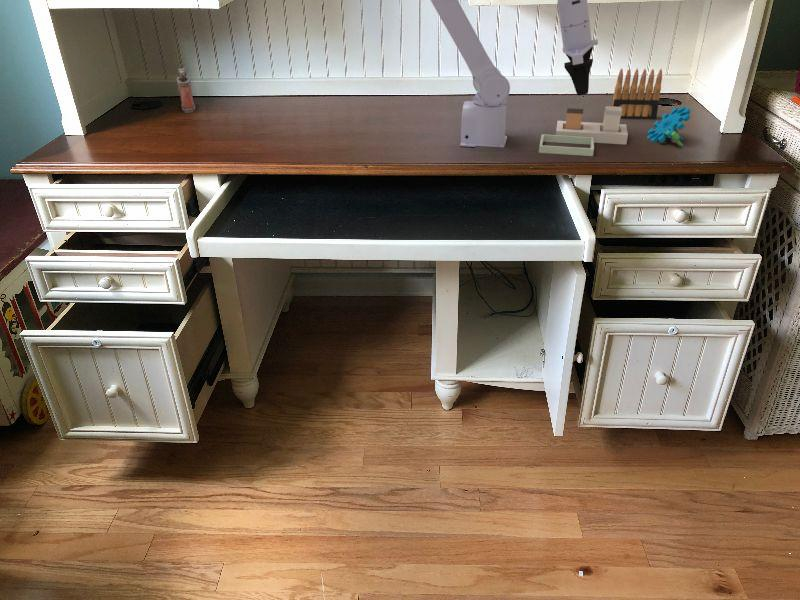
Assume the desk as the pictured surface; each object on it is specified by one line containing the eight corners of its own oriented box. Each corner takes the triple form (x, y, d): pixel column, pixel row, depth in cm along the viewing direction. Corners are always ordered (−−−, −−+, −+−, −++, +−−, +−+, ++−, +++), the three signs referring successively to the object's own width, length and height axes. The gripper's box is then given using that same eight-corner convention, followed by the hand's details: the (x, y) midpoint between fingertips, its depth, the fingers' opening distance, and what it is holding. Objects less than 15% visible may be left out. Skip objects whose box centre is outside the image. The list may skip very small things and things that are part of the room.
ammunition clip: (609, 120, 155) (618, 69, 148) (608, 118, 156) (617, 67, 150) (655, 121, 153) (666, 70, 147) (654, 119, 155) (664, 68, 148)
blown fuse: (563, 137, 142) (567, 108, 139) (564, 132, 145) (567, 104, 142) (579, 138, 142) (583, 109, 138) (579, 133, 144) (583, 105, 141)
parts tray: (538, 155, 134) (539, 145, 133) (540, 143, 141) (541, 134, 140) (592, 158, 132) (594, 149, 131) (592, 146, 139) (593, 137, 138)
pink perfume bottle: (181, 105, 172) (174, 66, 167) (194, 103, 173) (187, 65, 168) (182, 113, 166) (174, 73, 161) (195, 111, 167) (188, 72, 161)
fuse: (601, 139, 141) (605, 110, 137) (600, 134, 143) (605, 106, 140) (617, 140, 140) (622, 111, 137) (616, 135, 143) (621, 106, 139)
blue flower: (642, 126, 145) (683, 97, 139) (658, 144, 147) (698, 116, 141) (648, 148, 137) (691, 118, 131) (664, 167, 139) (708, 138, 133)
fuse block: (554, 142, 141) (556, 131, 140) (556, 131, 148) (557, 120, 146) (625, 147, 138) (627, 135, 137) (624, 135, 145) (626, 124, 143)
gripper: (595, 26, 123) (603, 95, 130) (595, 9, 134) (602, 73, 141) (558, 35, 125) (567, 102, 132) (560, 17, 136) (569, 80, 144)
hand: (582, 88), depth 137 cm, fingers open, 7 cm apart
